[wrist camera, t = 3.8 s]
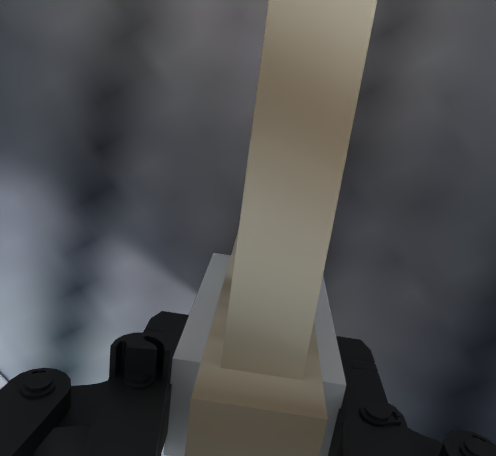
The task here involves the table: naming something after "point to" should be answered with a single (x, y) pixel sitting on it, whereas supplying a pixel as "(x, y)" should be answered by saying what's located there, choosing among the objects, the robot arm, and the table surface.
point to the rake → (283, 238)
